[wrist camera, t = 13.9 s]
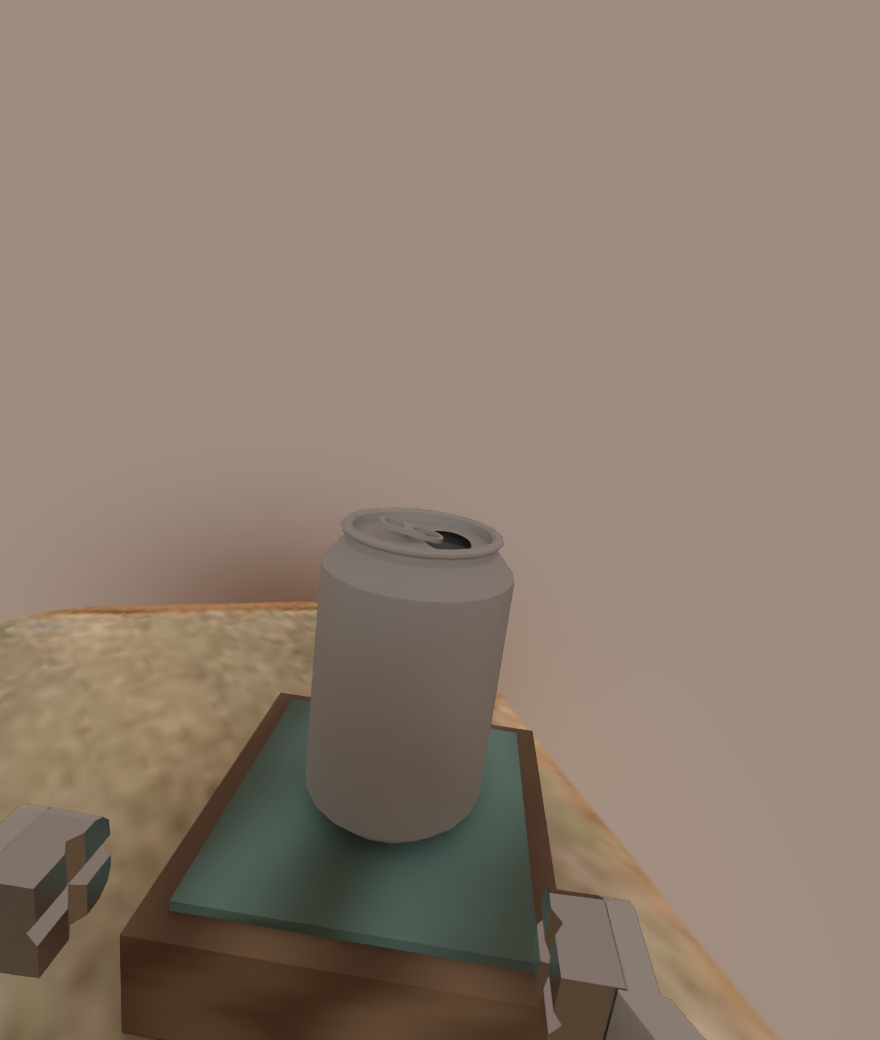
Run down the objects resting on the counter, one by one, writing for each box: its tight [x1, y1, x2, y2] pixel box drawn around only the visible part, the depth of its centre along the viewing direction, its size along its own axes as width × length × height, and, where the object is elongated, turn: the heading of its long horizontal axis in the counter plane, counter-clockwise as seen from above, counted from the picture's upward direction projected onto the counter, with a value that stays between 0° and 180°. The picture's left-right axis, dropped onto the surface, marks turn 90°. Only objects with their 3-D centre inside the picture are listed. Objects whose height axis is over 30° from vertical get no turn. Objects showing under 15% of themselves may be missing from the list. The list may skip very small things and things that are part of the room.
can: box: [306, 508, 514, 844], centre depth 22 cm, size 8×8×12 cm
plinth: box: [120, 693, 556, 1040], centre depth 24 cm, size 14×14×4 cm
